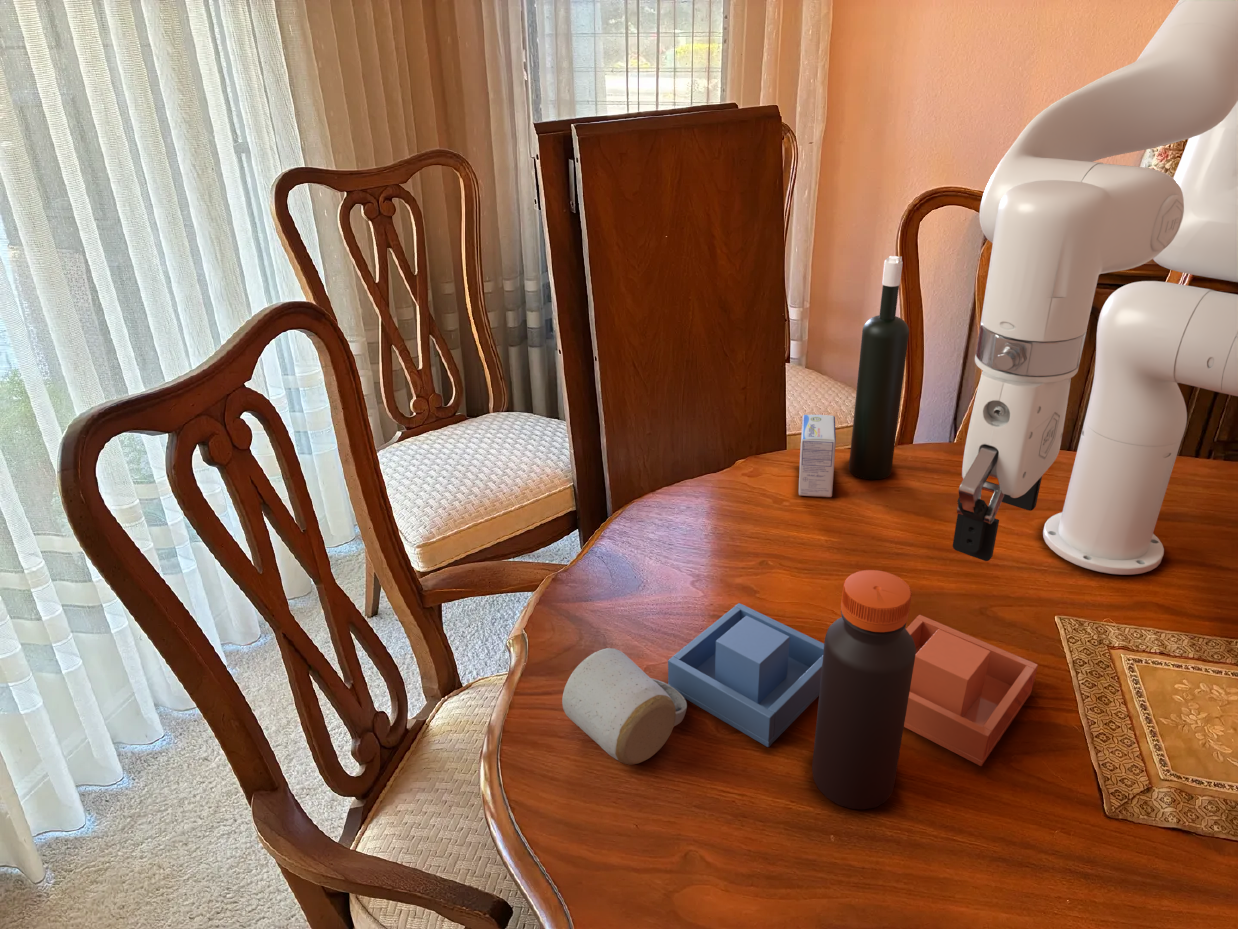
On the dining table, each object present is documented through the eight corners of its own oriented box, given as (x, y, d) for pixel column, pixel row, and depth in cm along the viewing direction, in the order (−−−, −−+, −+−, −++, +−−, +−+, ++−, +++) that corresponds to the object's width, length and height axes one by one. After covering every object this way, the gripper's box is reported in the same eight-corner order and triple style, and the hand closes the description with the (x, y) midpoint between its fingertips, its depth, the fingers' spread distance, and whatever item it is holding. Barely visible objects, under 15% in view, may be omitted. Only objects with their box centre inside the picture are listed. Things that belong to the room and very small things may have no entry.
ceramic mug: (620, 787, 73) (618, 719, 69) (562, 733, 79) (558, 668, 75) (707, 725, 79) (710, 661, 75) (647, 680, 85) (647, 618, 81)
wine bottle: (899, 476, 118) (927, 260, 104) (860, 482, 117) (884, 265, 103) (878, 458, 123) (903, 249, 109) (841, 463, 122) (861, 254, 108)
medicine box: (831, 499, 114) (837, 440, 110) (797, 496, 115) (801, 438, 110) (831, 470, 120) (835, 414, 116) (798, 468, 121) (802, 413, 117)
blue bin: (737, 629, 91) (738, 602, 89) (835, 679, 84) (838, 650, 82) (667, 688, 83) (667, 660, 82) (768, 747, 76) (770, 718, 75)
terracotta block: (931, 669, 84) (938, 628, 81) (982, 692, 80) (991, 651, 78) (907, 696, 80) (914, 655, 78) (959, 722, 77) (968, 680, 75)
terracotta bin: (914, 642, 88) (919, 614, 86) (1031, 693, 81) (1038, 664, 79) (858, 704, 81) (862, 674, 79) (981, 767, 74) (988, 736, 72)
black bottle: (910, 797, 71) (945, 603, 62) (840, 823, 69) (865, 627, 60) (862, 739, 77) (888, 554, 67) (796, 762, 75) (812, 574, 65)
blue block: (744, 654, 86) (746, 615, 84) (787, 676, 83) (790, 636, 81) (714, 681, 83) (715, 640, 81) (757, 705, 80) (759, 664, 78)
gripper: (1037, 397, 60) (998, 593, 68) (1114, 323, 70) (1073, 500, 79) (933, 372, 64) (909, 559, 73) (1021, 307, 75) (991, 476, 83)
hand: (994, 528), depth 76 cm, fingers open, 9 cm apart
